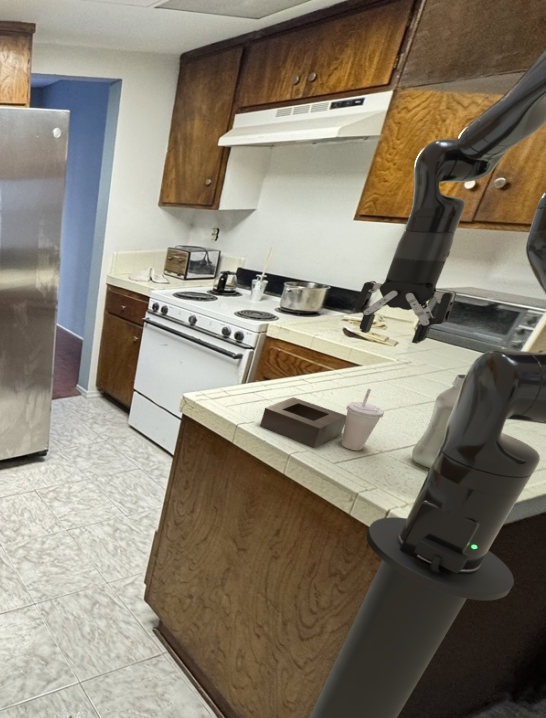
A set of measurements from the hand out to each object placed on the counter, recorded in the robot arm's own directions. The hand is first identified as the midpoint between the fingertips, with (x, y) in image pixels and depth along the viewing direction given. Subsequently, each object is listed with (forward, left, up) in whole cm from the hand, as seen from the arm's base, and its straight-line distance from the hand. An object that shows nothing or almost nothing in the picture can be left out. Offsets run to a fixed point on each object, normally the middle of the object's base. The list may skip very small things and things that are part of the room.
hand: (389, 337), depth 96 cm
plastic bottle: (+5, -12, -26) cm, 29 cm away
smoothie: (0, 0, -26) cm, 26 cm away
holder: (-2, +10, -26) cm, 28 cm away
